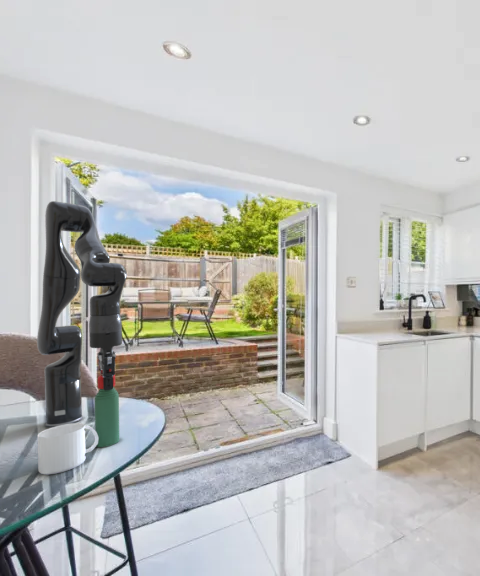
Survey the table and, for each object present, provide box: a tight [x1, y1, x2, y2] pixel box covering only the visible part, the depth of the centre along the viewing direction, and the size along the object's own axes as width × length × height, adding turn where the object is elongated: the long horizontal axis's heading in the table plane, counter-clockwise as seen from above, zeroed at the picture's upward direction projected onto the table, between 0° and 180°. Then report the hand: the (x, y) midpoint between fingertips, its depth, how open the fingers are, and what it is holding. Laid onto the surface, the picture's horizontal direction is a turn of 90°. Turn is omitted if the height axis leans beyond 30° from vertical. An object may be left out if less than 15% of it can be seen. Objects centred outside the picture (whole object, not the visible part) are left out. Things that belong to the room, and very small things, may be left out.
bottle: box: [94, 386, 120, 448], centre depth 104 cm, size 6×6×20 cm
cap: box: [97, 374, 116, 390], centre depth 103 cm, size 4×4×3 cm
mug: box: [37, 422, 99, 475], centre depth 92 cm, size 12×9×9 cm
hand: (107, 387), depth 103 cm, fingers closed on cap, 4 cm apart
